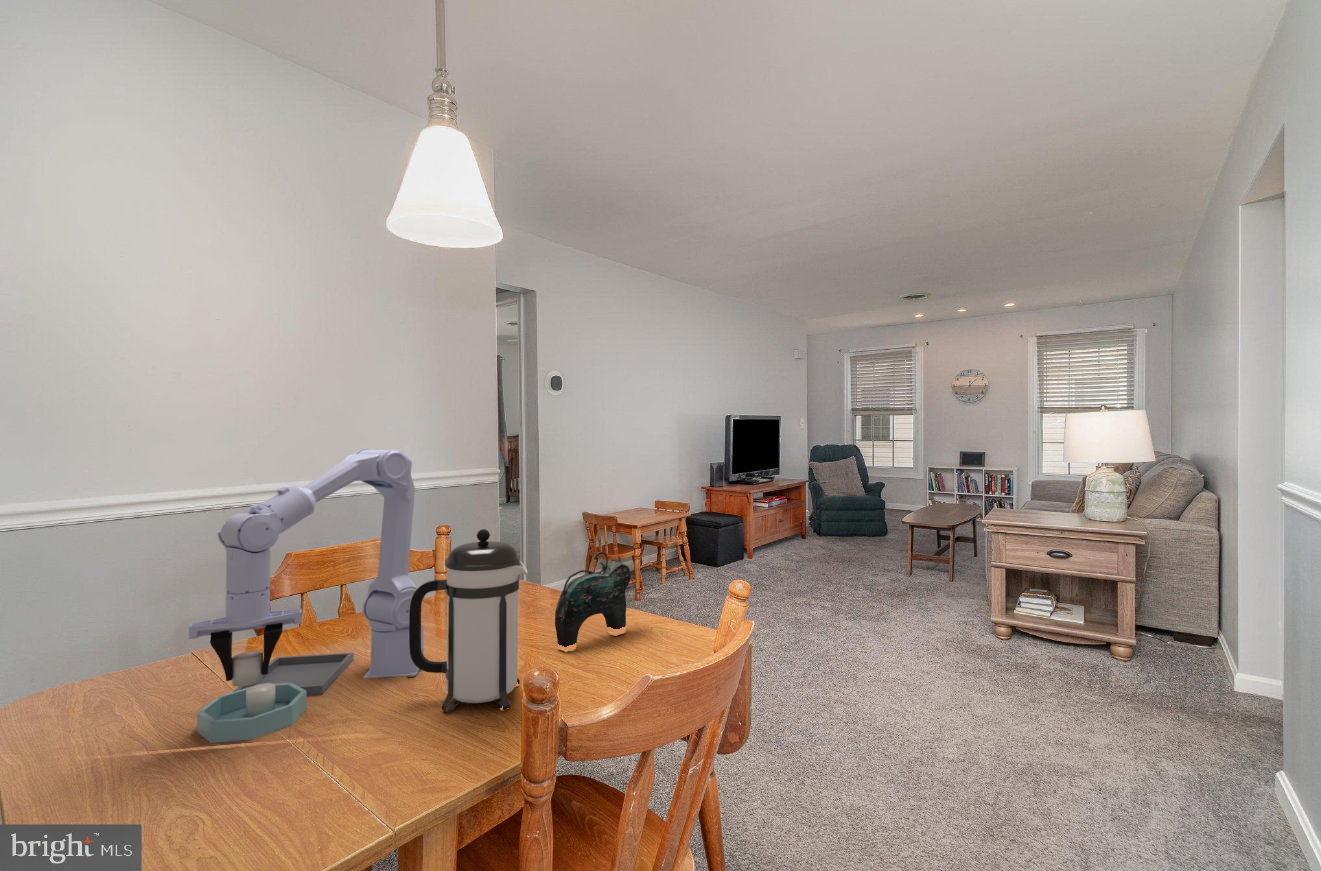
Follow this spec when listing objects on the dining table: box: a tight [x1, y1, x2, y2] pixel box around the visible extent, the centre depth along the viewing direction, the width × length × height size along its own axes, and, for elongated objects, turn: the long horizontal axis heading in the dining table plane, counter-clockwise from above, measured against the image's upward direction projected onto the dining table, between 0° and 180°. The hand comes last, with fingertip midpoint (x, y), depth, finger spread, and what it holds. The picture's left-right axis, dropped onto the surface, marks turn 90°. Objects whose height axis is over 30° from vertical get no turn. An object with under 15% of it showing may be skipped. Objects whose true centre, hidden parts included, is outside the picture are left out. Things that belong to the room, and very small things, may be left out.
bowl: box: [196, 683, 308, 747], centre depth 94 cm, size 13×13×4 cm
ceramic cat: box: [554, 551, 631, 647], centre depth 133 cm, size 20×6×20 cm, turn 136°
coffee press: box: [409, 528, 529, 714], centre depth 103 cm, size 17×16×30 cm
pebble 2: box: [246, 683, 275, 718], centre depth 97 cm, size 4×4×4 cm
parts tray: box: [232, 652, 355, 696], centre depth 110 cm, size 14×16×2 cm
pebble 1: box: [231, 650, 264, 687], centre depth 92 cm, size 4×4×4 cm
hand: (247, 675), depth 92 cm, fingers closed on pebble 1, 4 cm apart
